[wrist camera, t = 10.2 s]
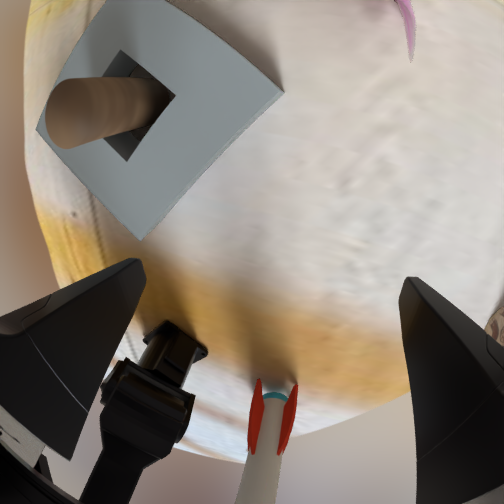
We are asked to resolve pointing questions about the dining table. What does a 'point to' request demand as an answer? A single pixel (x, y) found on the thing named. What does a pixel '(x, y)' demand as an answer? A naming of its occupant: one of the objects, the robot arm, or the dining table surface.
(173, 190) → the socket block
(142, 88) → the walnut peg
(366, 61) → the dining table surface
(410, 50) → the lily
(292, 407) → the toy rocket
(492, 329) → the figurine
